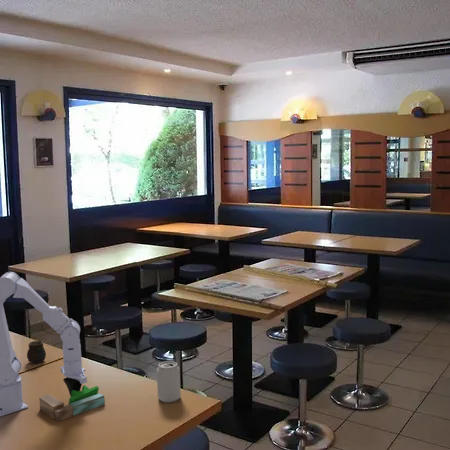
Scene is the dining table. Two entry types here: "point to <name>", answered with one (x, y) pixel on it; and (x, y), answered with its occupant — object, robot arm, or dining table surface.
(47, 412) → the brown wooden block
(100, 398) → the rail
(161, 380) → the can
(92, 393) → the pipe clamp
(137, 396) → the dining table surface
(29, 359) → the mate gourd
